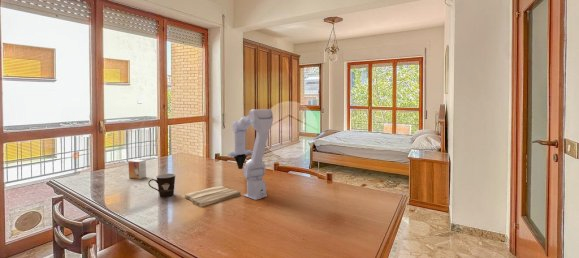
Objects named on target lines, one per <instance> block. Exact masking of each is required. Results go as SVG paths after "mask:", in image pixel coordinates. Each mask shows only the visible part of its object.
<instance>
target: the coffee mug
mask: <svg viewBox="0 0 579 258" xmlns="http://www.w3.org/2000/svg"><path fill="white" fill-rule="evenodd" d="M151 181H154V182H155V183H156V184H157V187H158V188H156V187H153V186H152V185H151V184H150V182H151ZM175 182H176V174H175V173H161V174H158V175H157V176H156V179H155V178H152V179H150V180H149V181H148V183H147V184H148V186H149V187H150V188H151V189H154V190H155V191H157V192H158V194H159V197H160V198H170V197H172V196H174V194H175V193H174V192H175V185H176V183H175Z"/></svg>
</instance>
